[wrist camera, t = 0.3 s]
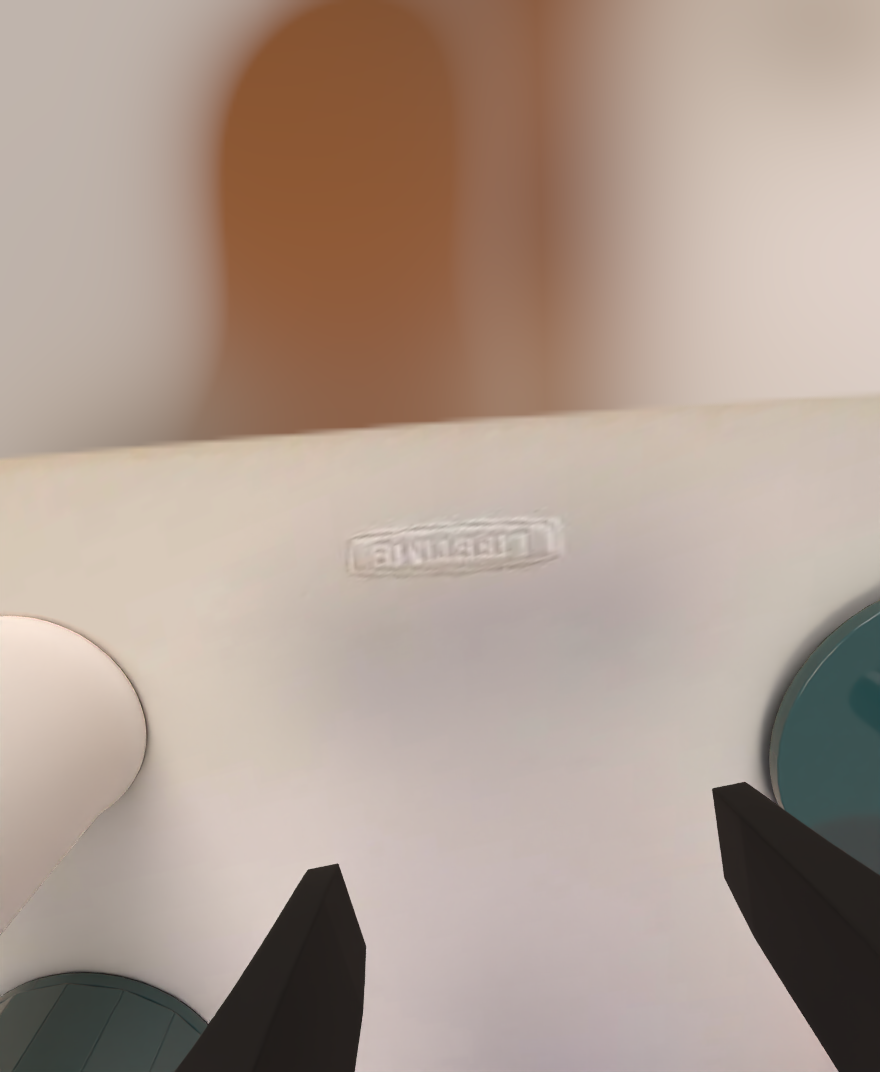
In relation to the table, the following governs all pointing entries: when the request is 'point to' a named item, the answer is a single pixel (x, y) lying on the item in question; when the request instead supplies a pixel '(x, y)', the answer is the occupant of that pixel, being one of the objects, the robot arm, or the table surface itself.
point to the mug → (57, 748)
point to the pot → (94, 1026)
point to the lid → (834, 740)
